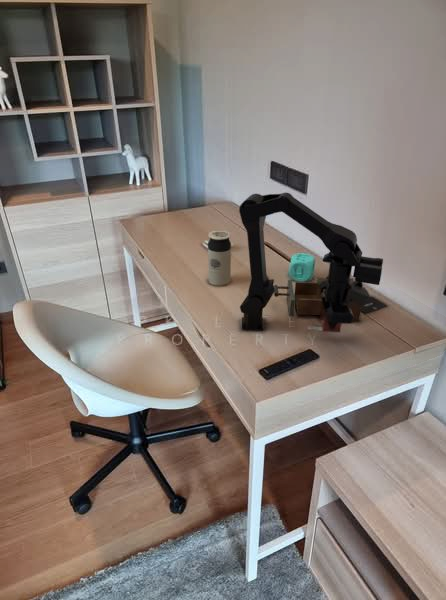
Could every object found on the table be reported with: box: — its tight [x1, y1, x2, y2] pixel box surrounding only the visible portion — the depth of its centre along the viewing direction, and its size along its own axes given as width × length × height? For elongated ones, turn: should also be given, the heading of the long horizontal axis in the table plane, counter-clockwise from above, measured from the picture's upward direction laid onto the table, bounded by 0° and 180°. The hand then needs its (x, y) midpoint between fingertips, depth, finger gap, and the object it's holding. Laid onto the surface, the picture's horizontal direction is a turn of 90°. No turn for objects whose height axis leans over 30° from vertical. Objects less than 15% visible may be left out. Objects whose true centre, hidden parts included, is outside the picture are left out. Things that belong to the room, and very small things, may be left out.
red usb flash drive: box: [307, 317, 342, 333], centre depth 121 cm, size 9×2×3 cm, turn 87°
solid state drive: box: [361, 296, 388, 315], centre depth 141 cm, size 7×10×1 cm
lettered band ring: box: [202, 240, 235, 249], centre depth 179 cm, size 18×10×6 cm, turn 27°
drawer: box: [273, 279, 323, 317], centre depth 137 cm, size 15×13×6 cm
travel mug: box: [207, 230, 232, 287], centre depth 151 cm, size 8×8×18 cm
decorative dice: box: [288, 252, 316, 282], centre depth 156 cm, size 8×8×8 cm
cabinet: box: [316, 277, 362, 323], centre depth 137 cm, size 12×15×8 cm
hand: (331, 326), depth 121 cm, fingers closed on red usb flash drive, 2 cm apart
